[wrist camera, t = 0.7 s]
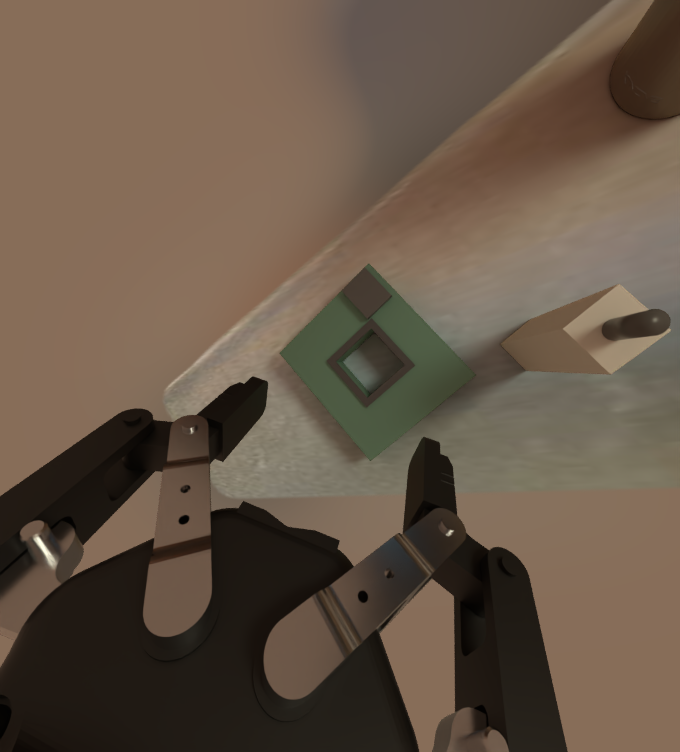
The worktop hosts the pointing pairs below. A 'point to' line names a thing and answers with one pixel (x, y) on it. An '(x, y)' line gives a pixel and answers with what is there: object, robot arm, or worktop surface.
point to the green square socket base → (400, 392)
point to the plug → (588, 334)
